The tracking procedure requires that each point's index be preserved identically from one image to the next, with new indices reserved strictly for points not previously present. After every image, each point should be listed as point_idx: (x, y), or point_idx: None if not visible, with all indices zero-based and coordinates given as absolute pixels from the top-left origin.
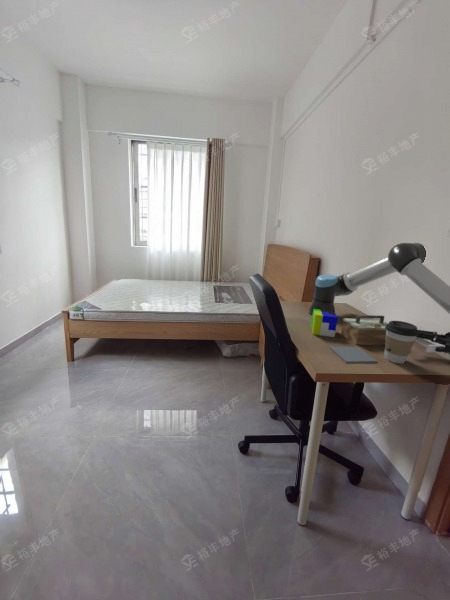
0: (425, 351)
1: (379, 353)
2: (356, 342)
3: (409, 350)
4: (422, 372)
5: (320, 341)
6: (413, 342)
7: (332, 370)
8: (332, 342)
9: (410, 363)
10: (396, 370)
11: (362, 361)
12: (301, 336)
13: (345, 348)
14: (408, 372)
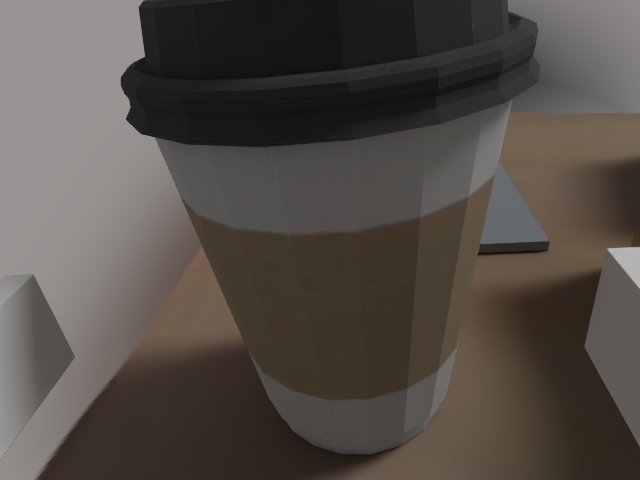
0: (70, 356)
1: (475, 333)
2: (634, 246)
3: (226, 299)
4: (94, 449)
5: (585, 154)
6: (198, 229)
7: None
8: (598, 182)
9: (259, 472)
10: (206, 301)
11: None
12: (623, 123)
13: (492, 191)
14: (154, 348)
